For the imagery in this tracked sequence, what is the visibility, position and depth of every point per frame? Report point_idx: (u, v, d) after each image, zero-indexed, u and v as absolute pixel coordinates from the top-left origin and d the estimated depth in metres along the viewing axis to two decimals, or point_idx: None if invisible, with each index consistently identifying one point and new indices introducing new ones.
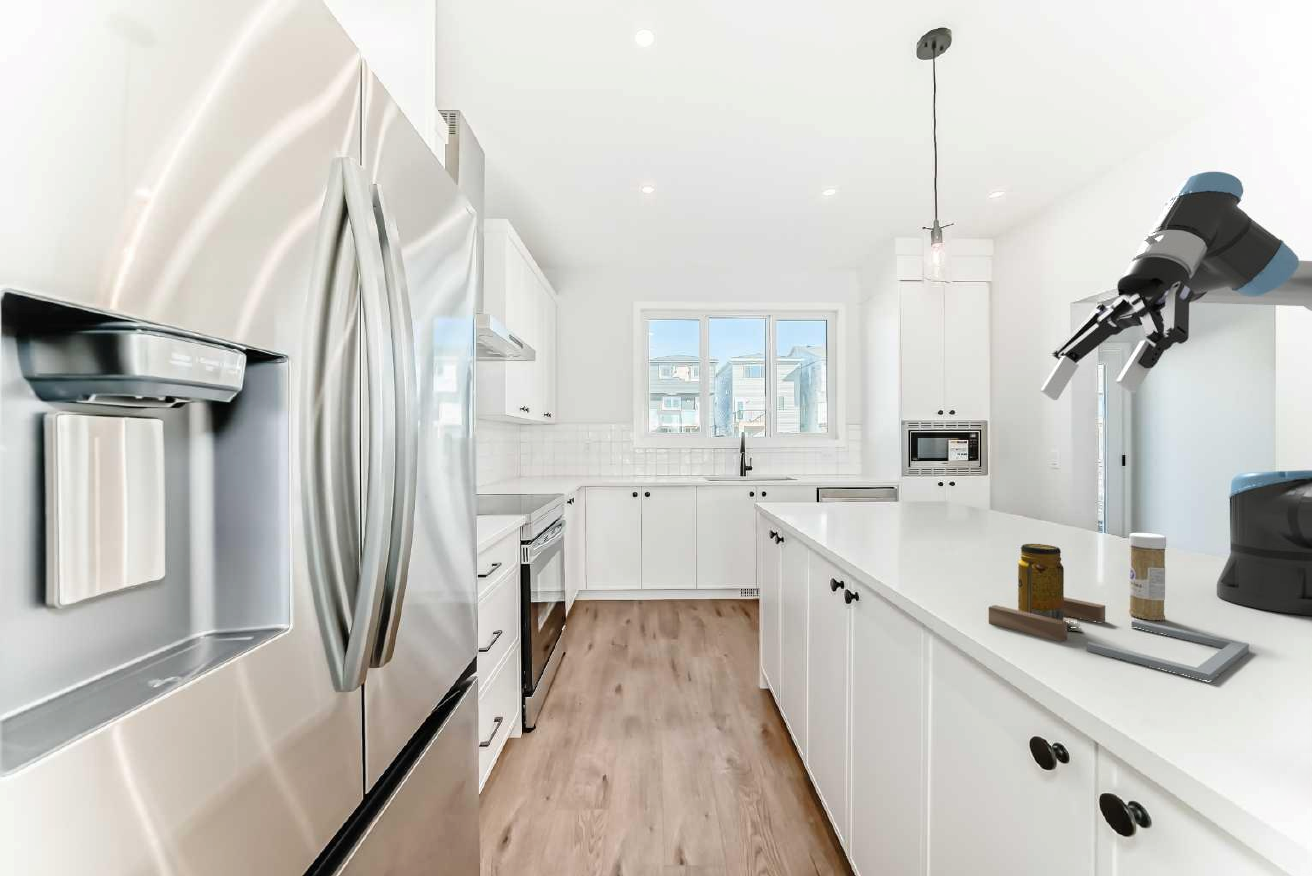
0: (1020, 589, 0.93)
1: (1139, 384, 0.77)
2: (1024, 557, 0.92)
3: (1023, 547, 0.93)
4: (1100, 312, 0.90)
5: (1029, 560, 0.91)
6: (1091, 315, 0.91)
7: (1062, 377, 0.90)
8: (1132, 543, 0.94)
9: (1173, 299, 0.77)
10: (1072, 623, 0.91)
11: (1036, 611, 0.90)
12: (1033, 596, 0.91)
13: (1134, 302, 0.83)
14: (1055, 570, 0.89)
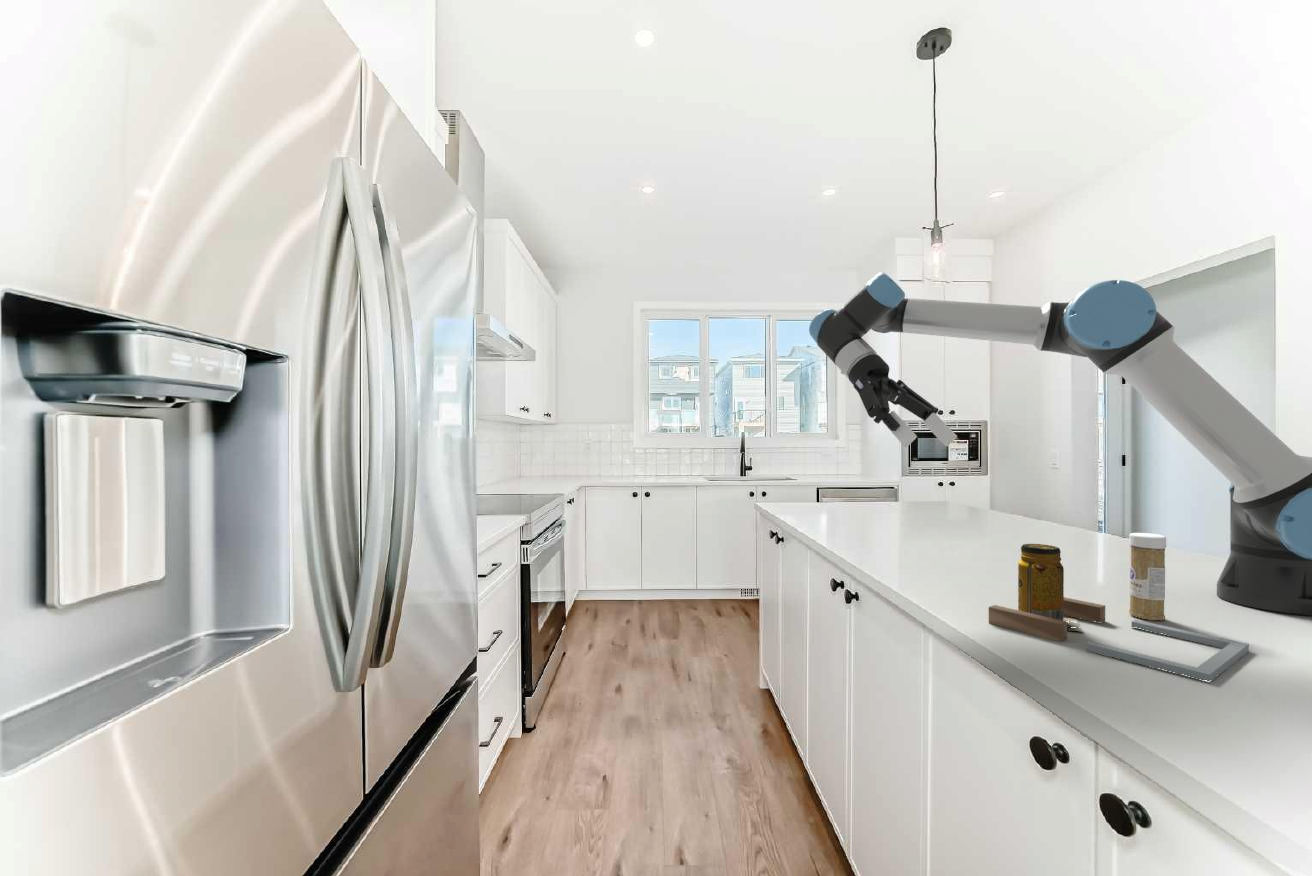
0: (1020, 589, 0.93)
1: (910, 432, 1.03)
2: (1024, 557, 0.92)
3: (1023, 547, 0.93)
4: None
5: (1029, 560, 0.91)
6: (899, 395, 1.20)
7: (938, 428, 1.13)
8: (1132, 543, 0.94)
9: None
10: (1072, 623, 0.91)
11: (1036, 611, 0.90)
12: (1033, 596, 0.91)
13: None
14: (1055, 570, 0.89)
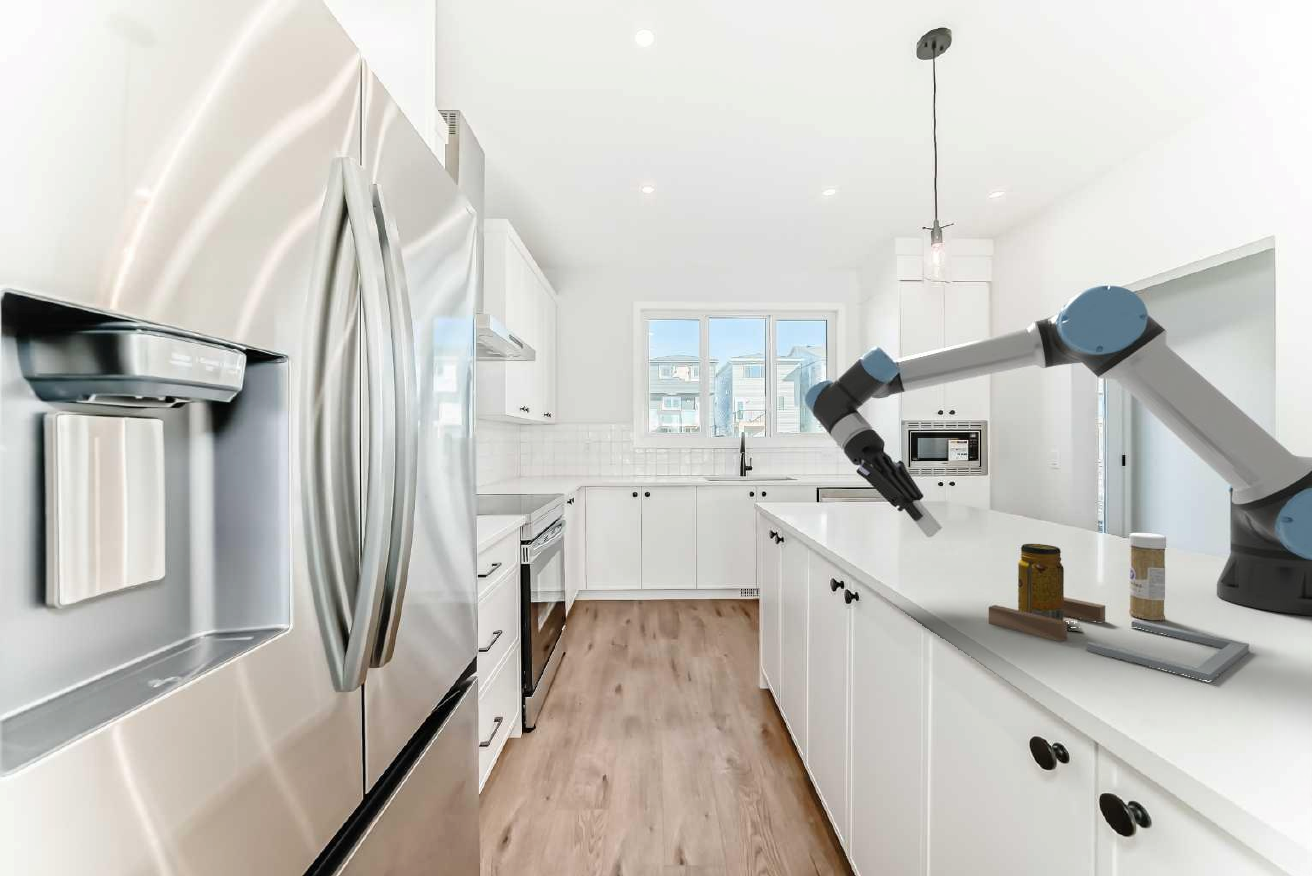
0: (1020, 589, 0.93)
1: (932, 524, 1.06)
2: (1024, 556, 0.92)
3: (1023, 547, 0.93)
4: None
5: (1029, 560, 0.91)
6: None
7: None
8: (1132, 543, 0.94)
9: None
10: (1072, 623, 0.91)
11: (1036, 611, 0.90)
12: (1033, 596, 0.91)
13: None
14: (1055, 570, 0.89)
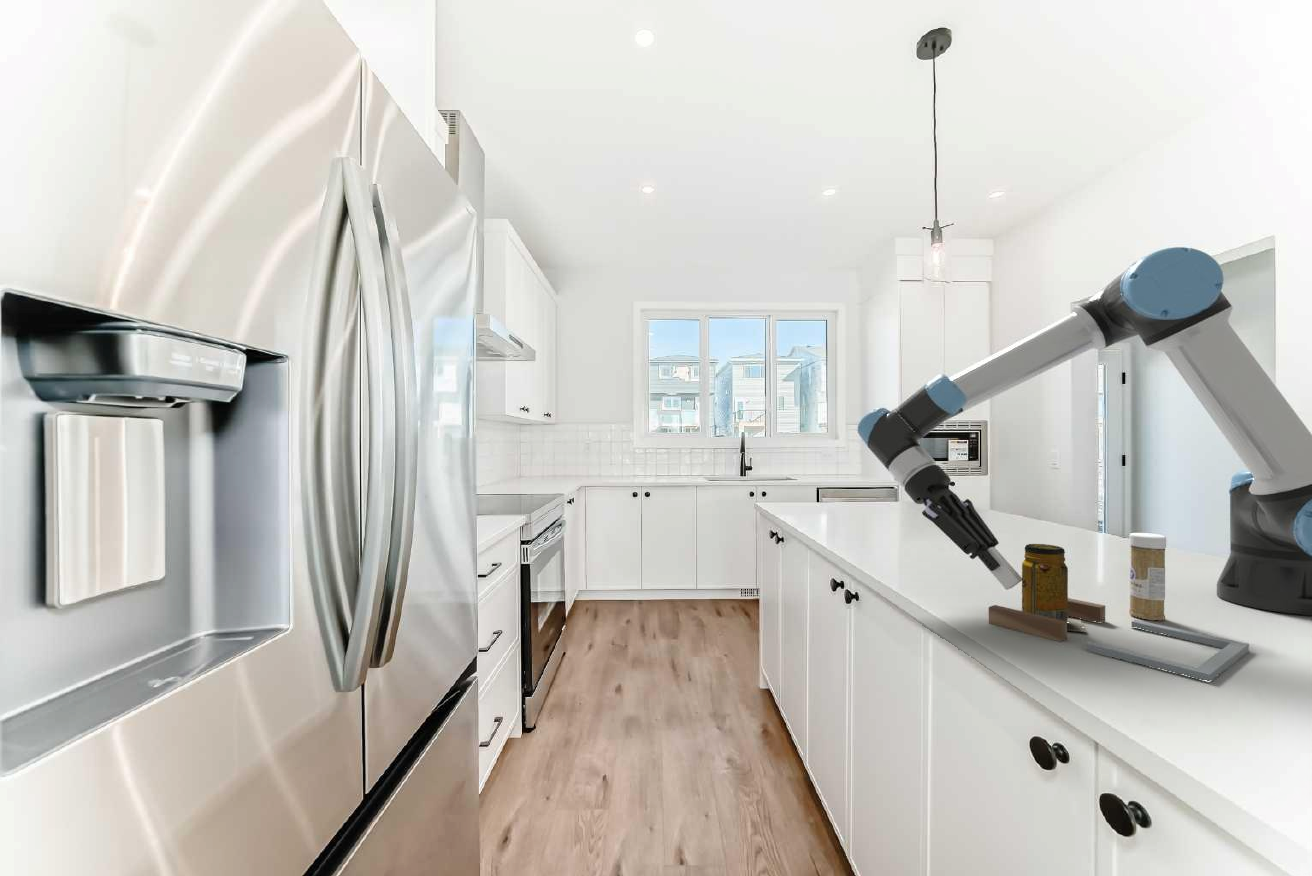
0: (1024, 589, 0.92)
1: (1012, 575, 0.95)
2: (1028, 557, 0.92)
3: (1027, 547, 0.92)
4: None
5: (1033, 560, 0.91)
6: None
7: None
8: (1132, 543, 0.94)
9: None
10: (1076, 624, 0.90)
11: (1040, 612, 0.90)
12: (1036, 596, 0.90)
13: None
14: (1059, 570, 0.89)
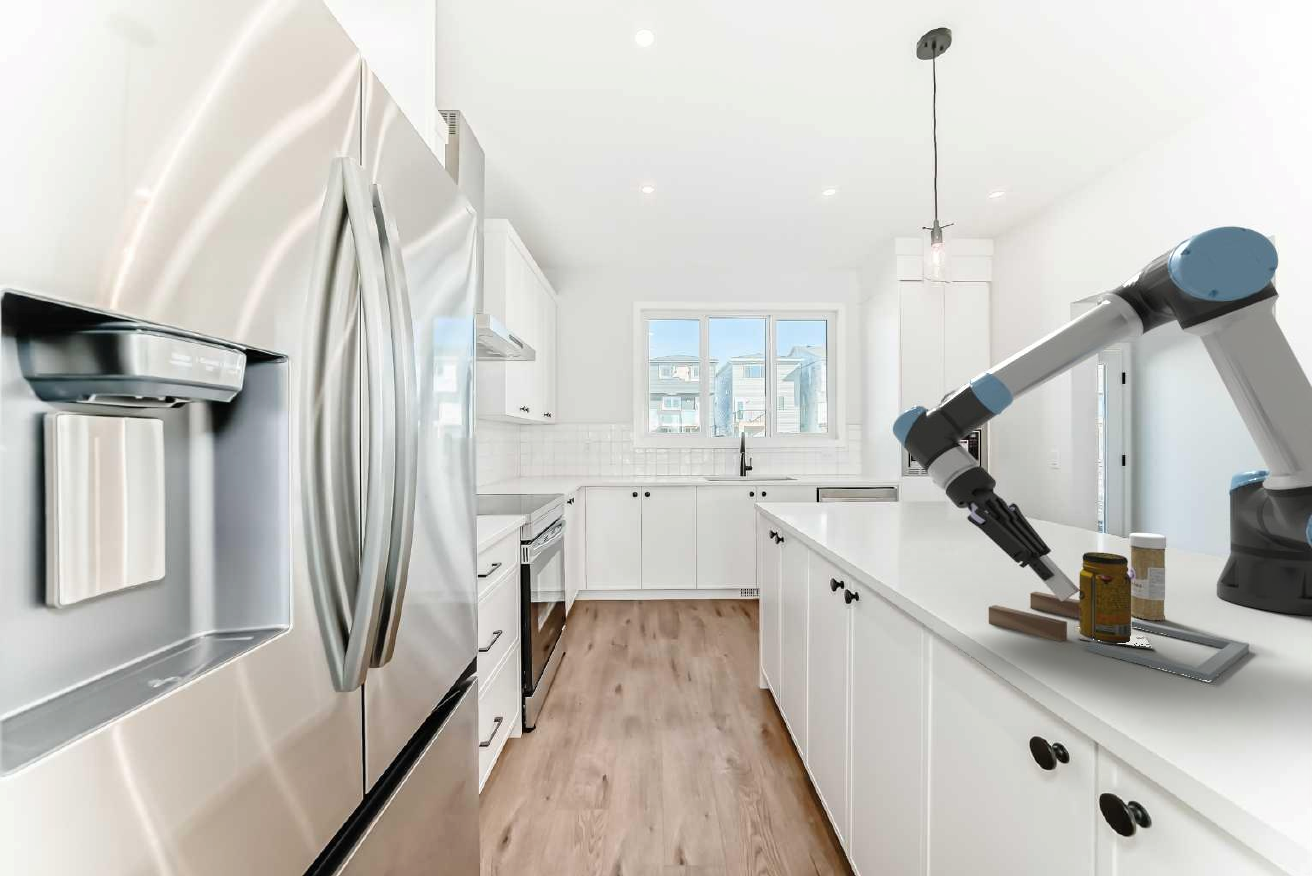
0: (1082, 601, 0.86)
1: (1068, 586, 0.88)
2: (1087, 566, 0.85)
3: (1085, 556, 0.86)
4: None
5: (1093, 570, 0.84)
6: None
7: None
8: (1132, 543, 0.94)
9: None
10: None
11: (1101, 626, 0.83)
12: (1097, 609, 0.83)
13: None
14: (1123, 581, 0.82)
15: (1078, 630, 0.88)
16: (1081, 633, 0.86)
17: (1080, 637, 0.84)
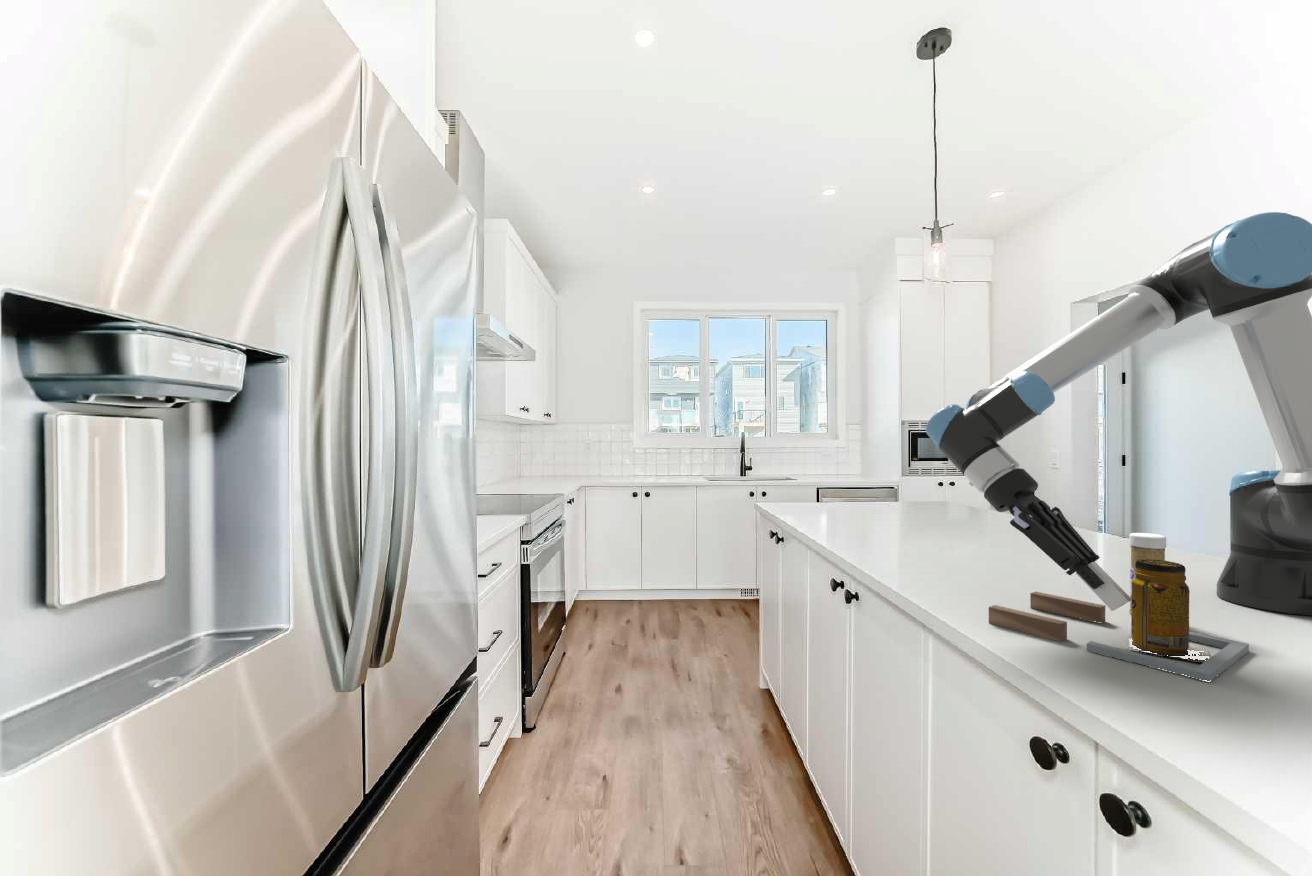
0: (1133, 611, 0.81)
1: (1120, 595, 0.83)
2: (1139, 574, 0.81)
3: (1138, 563, 0.81)
4: None
5: (1145, 578, 0.80)
6: None
7: None
8: (1132, 543, 0.94)
9: None
10: (1200, 653, 0.78)
11: (1153, 637, 0.78)
12: (1149, 619, 0.79)
13: None
14: (1178, 591, 0.77)
15: None
16: (1133, 644, 0.81)
17: (1130, 648, 0.80)
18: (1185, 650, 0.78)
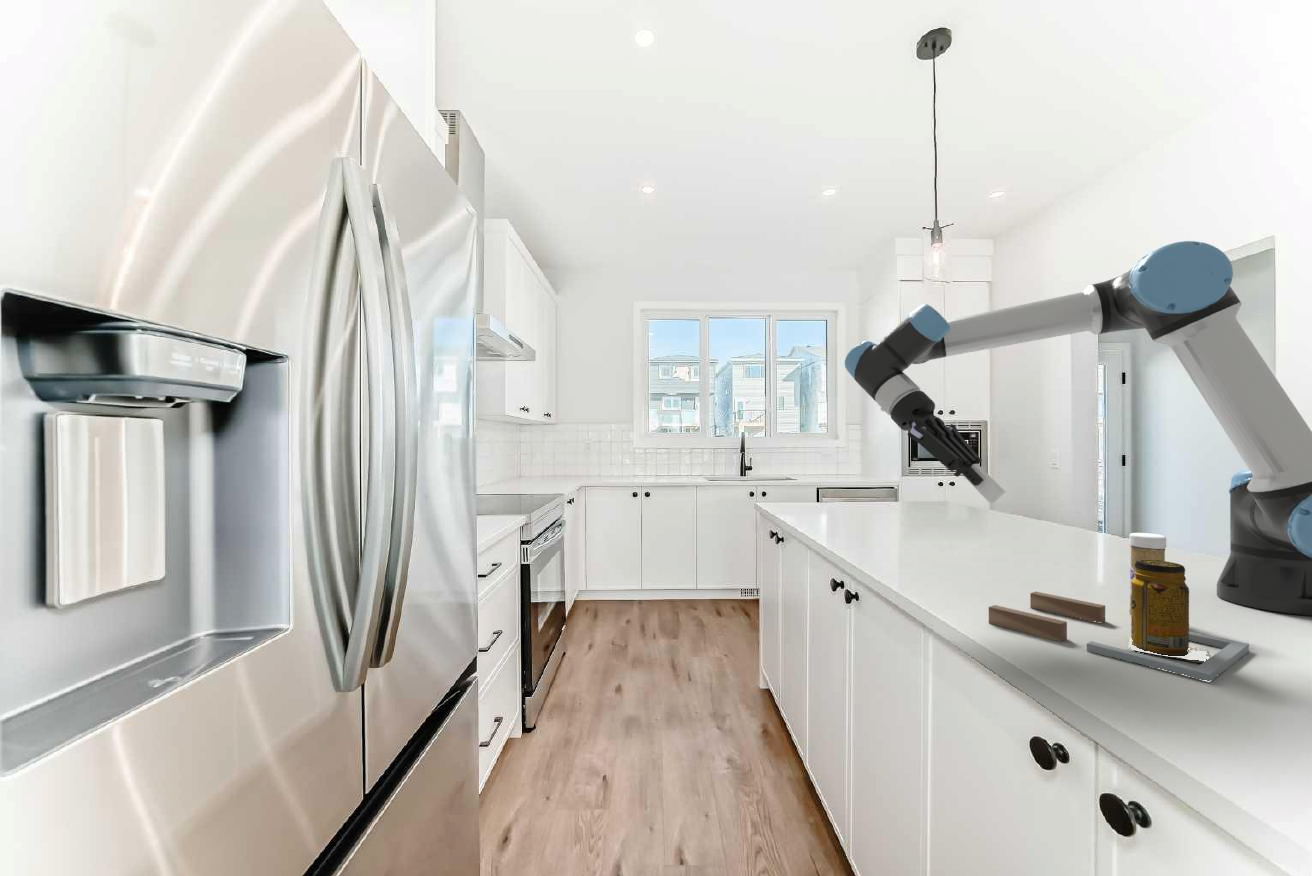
0: (1133, 611, 0.81)
1: (995, 488, 0.97)
2: (1138, 574, 0.81)
3: (1137, 563, 0.81)
4: None
5: (1145, 578, 0.80)
6: None
7: None
8: (1132, 543, 0.94)
9: None
10: None
11: (1153, 638, 0.78)
12: (1149, 620, 0.79)
13: None
14: (1178, 591, 0.77)
15: None
16: None
17: (1130, 648, 0.80)
18: (1185, 650, 0.78)
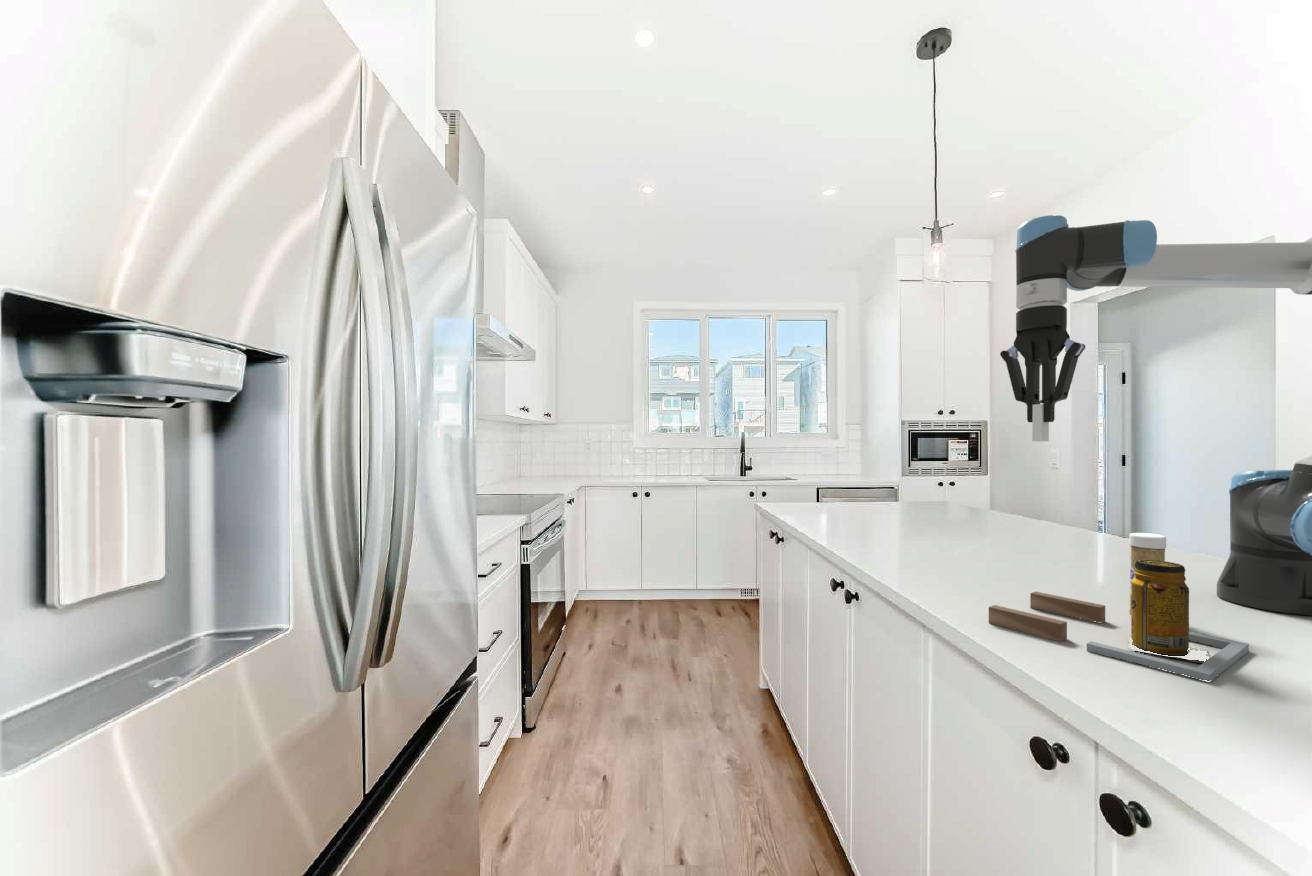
0: (1133, 611, 0.81)
1: (1048, 434, 1.03)
2: (1138, 574, 0.81)
3: (1137, 563, 0.81)
4: (1012, 354, 1.06)
5: (1145, 578, 0.80)
6: (1008, 360, 1.07)
7: None
8: (1132, 543, 0.94)
9: (1069, 362, 0.99)
10: None
11: (1153, 638, 0.78)
12: (1149, 620, 0.79)
13: (1042, 348, 1.01)
14: (1178, 591, 0.77)
15: None
16: None
17: (1130, 648, 0.80)
18: (1185, 650, 0.78)
